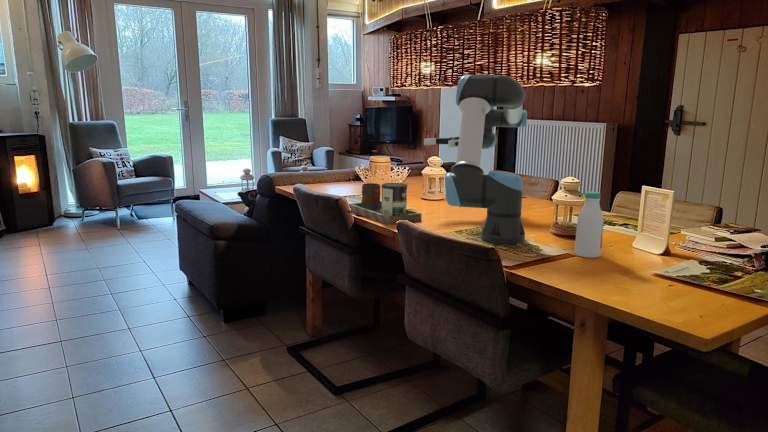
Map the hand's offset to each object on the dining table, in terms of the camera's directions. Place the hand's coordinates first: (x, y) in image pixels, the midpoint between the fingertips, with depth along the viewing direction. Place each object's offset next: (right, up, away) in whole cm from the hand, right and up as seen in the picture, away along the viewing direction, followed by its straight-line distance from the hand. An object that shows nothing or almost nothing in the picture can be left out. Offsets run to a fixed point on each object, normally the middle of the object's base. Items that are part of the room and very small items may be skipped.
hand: (436, 142), depth 230 cm
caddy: (-22, -30, +1) cm, 37 cm away
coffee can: (-18, -32, -5) cm, 37 cm away
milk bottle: (+42, -43, -56) cm, 82 cm away
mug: (-27, -29, +8) cm, 40 cm away
